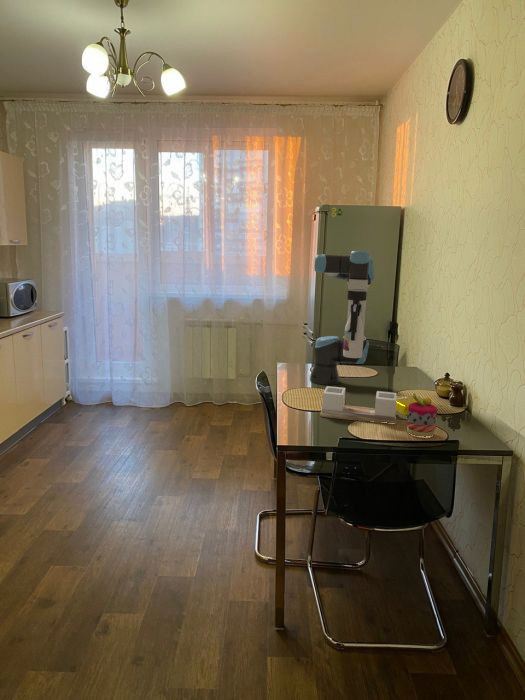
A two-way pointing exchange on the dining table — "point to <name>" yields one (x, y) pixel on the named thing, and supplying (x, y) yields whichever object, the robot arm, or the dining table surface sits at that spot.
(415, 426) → the cake
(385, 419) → the mounting board
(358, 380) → the dining table surface
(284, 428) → the dining table surface
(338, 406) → the mounted modules
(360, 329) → the milk bottle
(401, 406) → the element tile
